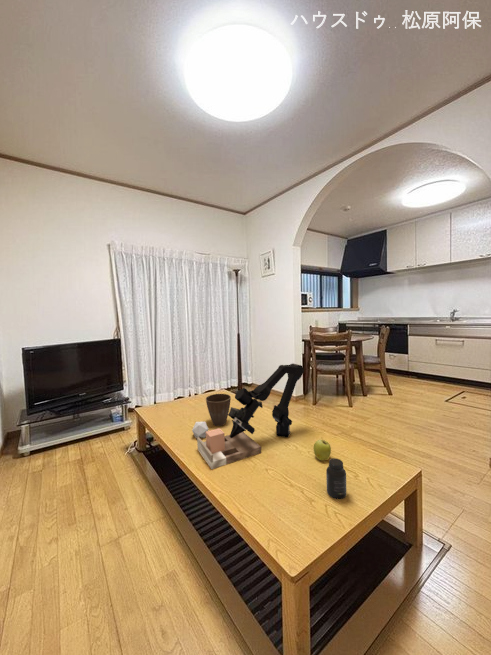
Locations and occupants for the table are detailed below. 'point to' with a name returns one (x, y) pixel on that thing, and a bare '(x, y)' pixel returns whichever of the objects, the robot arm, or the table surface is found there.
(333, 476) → the supplement bottle
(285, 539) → the table surface
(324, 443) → the apple
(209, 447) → the block
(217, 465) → the brown piece
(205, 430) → the die
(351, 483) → the table surface
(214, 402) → the plant pot
